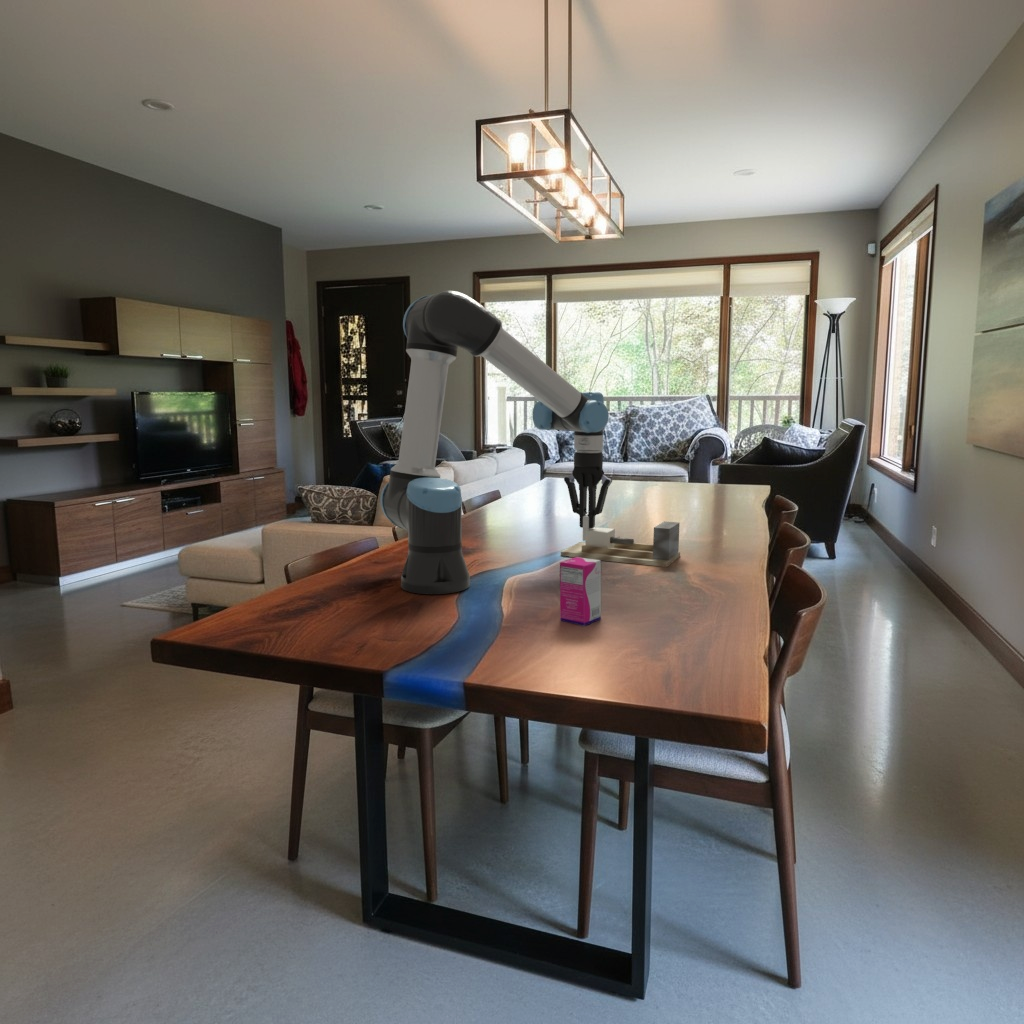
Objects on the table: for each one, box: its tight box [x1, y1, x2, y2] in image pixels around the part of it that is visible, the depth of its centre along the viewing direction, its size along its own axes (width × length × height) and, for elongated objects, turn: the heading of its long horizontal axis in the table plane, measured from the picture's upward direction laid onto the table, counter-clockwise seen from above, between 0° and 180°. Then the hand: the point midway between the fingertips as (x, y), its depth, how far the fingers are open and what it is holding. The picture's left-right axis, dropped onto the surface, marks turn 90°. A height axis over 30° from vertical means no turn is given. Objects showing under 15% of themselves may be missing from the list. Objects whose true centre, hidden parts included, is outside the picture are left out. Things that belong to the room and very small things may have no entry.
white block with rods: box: [585, 527, 635, 548], centre depth 200 cm, size 12×10×5 cm
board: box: [560, 521, 681, 568], centre depth 197 cm, size 28×14×9 cm, turn 64°
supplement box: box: [559, 557, 602, 627], centre depth 142 cm, size 6×6×12 cm
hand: (586, 539), depth 201 cm, fingers closed
